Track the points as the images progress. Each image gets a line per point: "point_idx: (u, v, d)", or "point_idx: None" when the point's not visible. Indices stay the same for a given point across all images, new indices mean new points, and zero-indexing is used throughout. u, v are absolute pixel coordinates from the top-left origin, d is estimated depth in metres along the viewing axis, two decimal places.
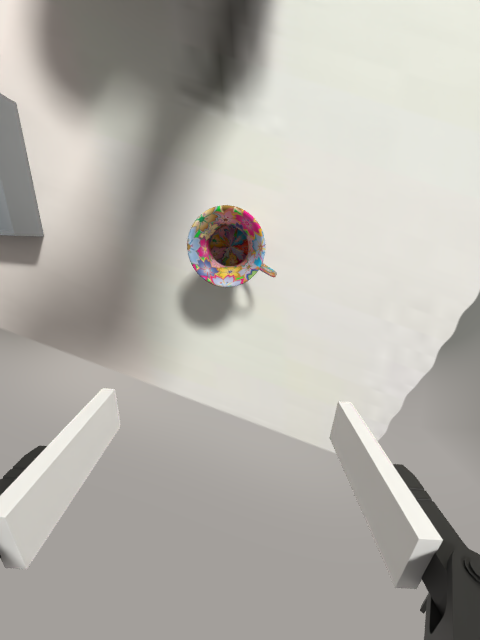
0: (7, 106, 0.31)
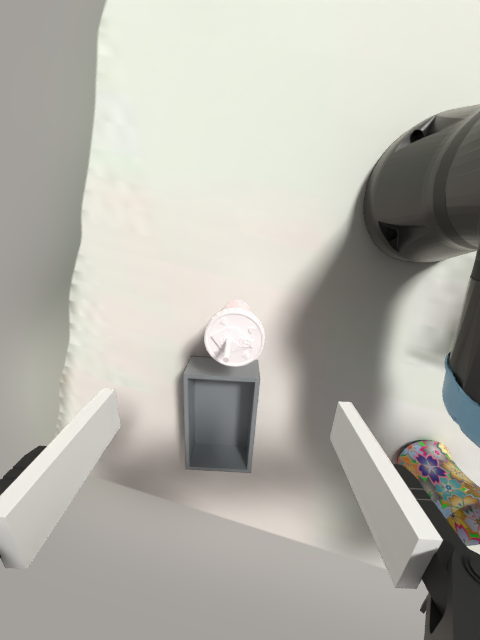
0: None
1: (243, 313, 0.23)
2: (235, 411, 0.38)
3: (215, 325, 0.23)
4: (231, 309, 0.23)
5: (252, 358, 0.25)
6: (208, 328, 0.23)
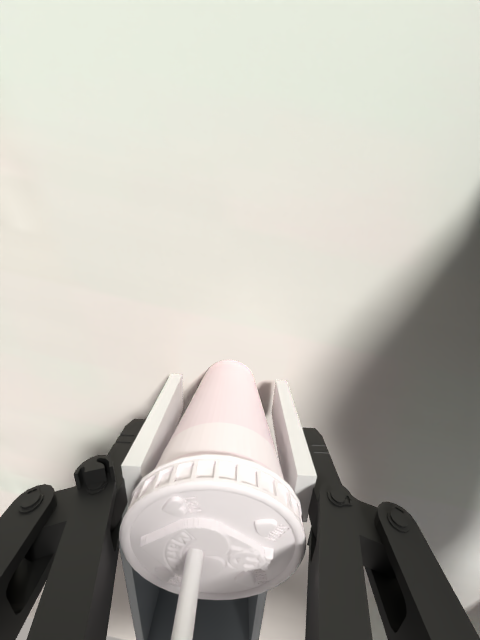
0: None
1: (239, 488, 0.07)
2: None
3: (150, 515, 0.07)
4: (202, 460, 0.07)
5: (267, 585, 0.08)
6: (128, 523, 0.07)
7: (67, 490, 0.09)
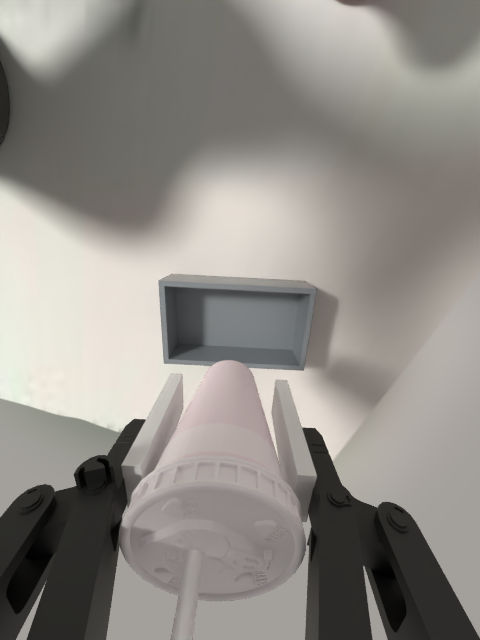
0: (176, 276, 0.28)
1: (239, 490, 0.07)
2: (243, 301, 0.30)
3: (150, 516, 0.07)
4: (202, 461, 0.07)
5: (267, 586, 0.08)
6: (128, 524, 0.07)
7: (67, 490, 0.09)
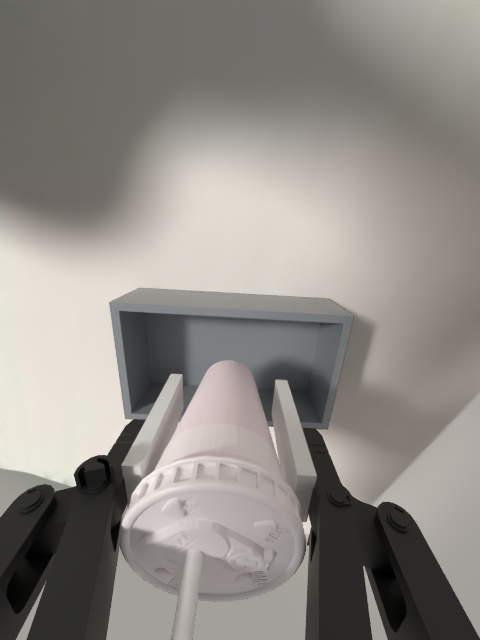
0: (144, 292, 0.19)
1: (239, 490, 0.07)
2: (240, 326, 0.21)
3: (150, 516, 0.07)
4: (202, 462, 0.07)
5: (267, 586, 0.08)
6: (128, 525, 0.07)
7: (67, 490, 0.09)
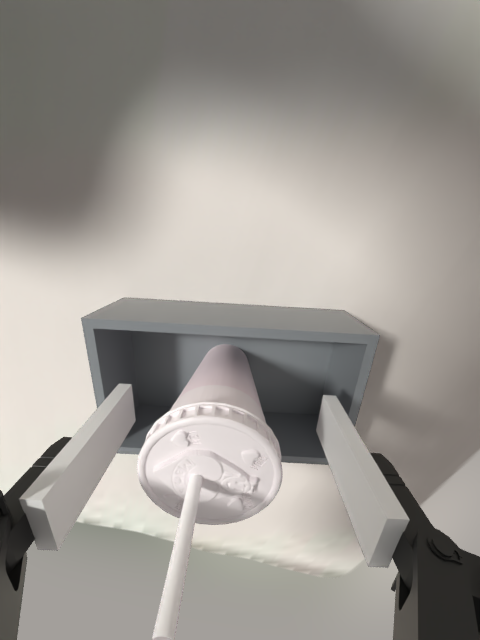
0: (128, 303, 0.17)
1: (230, 422, 0.09)
2: (241, 342, 0.18)
3: (162, 446, 0.09)
4: (201, 405, 0.10)
5: (253, 511, 0.11)
6: (145, 453, 0.10)
7: None
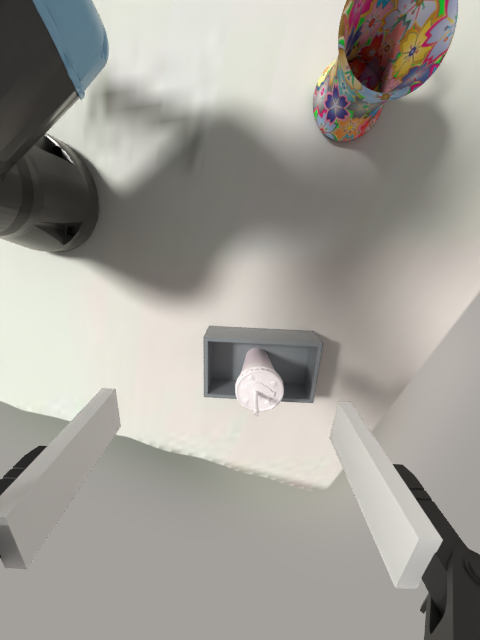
0: (214, 329, 0.37)
1: (267, 371, 0.29)
2: (264, 346, 0.38)
3: (244, 380, 0.29)
4: (257, 367, 0.30)
5: (273, 405, 0.30)
6: (239, 383, 0.30)
7: None
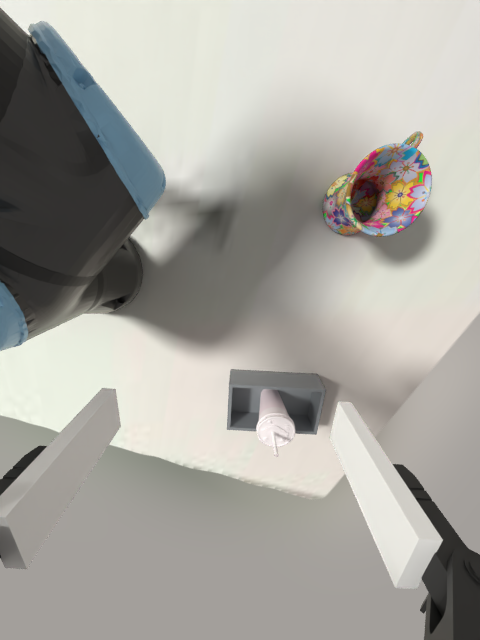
0: (235, 373, 0.44)
1: (282, 418, 0.37)
2: None
3: (264, 424, 0.37)
4: (274, 413, 0.37)
5: (287, 442, 0.38)
6: (260, 426, 0.37)
7: None
